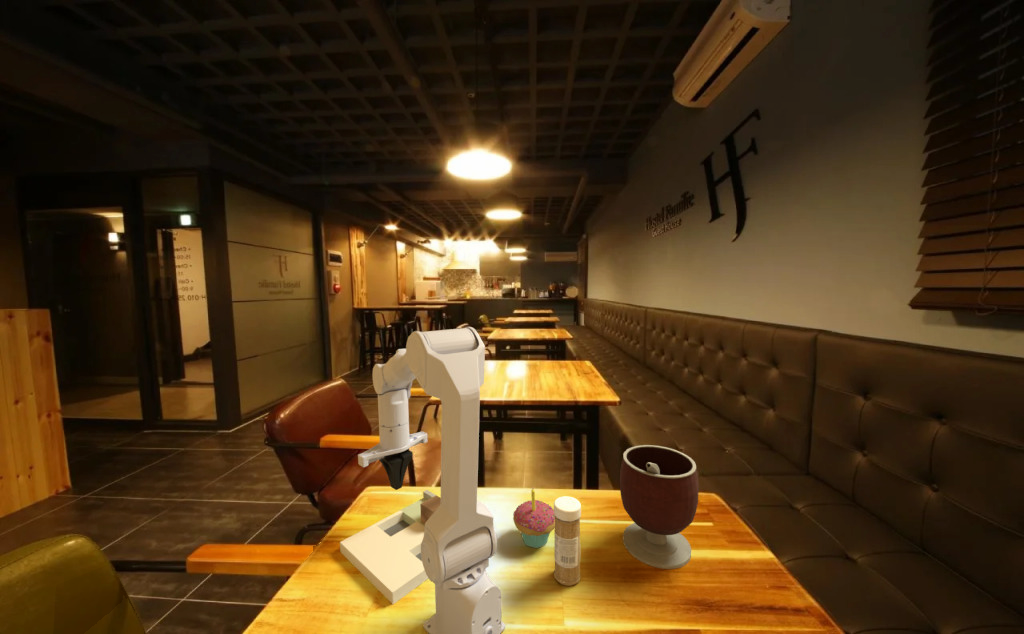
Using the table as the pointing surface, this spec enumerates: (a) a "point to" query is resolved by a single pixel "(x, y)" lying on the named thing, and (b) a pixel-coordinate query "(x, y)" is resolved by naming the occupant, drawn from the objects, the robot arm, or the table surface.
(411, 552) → the board
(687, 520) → the mate gourd
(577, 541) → the sprinkles bottle
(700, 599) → the table surface
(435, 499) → the walnut block
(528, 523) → the cupcake
